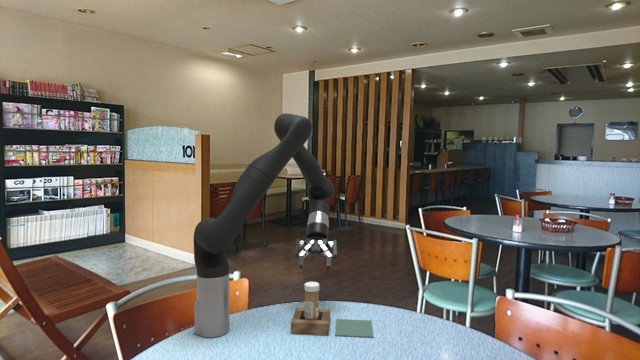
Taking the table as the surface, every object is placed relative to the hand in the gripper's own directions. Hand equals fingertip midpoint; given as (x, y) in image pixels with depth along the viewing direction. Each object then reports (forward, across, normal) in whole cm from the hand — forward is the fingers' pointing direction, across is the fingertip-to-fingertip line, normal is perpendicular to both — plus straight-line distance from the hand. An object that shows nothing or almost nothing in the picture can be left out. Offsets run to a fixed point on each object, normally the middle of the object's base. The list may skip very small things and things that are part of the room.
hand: (314, 268), depth 128 cm
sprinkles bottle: (+18, 0, +4) cm, 18 cm away
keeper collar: (+18, 0, +4) cm, 18 cm away
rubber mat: (+18, +13, +4) cm, 22 cm away
